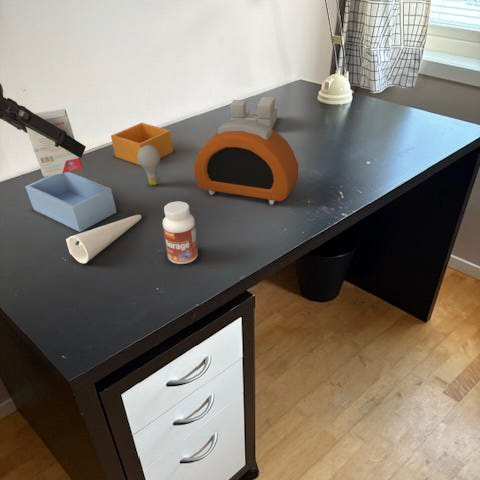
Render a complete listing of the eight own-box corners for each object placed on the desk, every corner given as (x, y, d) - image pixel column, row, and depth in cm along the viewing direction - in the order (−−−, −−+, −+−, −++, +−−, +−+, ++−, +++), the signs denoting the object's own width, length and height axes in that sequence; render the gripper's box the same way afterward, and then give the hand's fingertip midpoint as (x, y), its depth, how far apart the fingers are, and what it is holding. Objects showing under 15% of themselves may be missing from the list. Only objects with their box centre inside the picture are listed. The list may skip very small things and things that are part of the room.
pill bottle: (163, 264, 94) (155, 214, 87) (172, 246, 99) (165, 198, 92) (194, 266, 94) (188, 216, 86) (201, 248, 98) (196, 200, 91)
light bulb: (143, 181, 122) (136, 142, 116) (164, 179, 123) (158, 140, 116) (142, 190, 118) (134, 151, 112) (164, 189, 119) (158, 149, 112)
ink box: (81, 161, 108) (66, 107, 100) (83, 170, 104) (68, 115, 96) (41, 168, 106) (23, 113, 98) (42, 177, 102) (23, 121, 94)
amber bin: (115, 156, 134) (110, 135, 130) (145, 143, 141) (141, 122, 137) (143, 166, 129) (139, 144, 125) (173, 151, 135) (170, 130, 131)
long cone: (160, 232, 106) (90, 267, 94) (140, 227, 110) (71, 259, 97) (156, 208, 103) (84, 240, 91) (136, 203, 107) (63, 233, 94)
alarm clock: (195, 193, 116) (187, 124, 105) (210, 178, 122) (204, 110, 111) (287, 208, 109) (289, 135, 98) (298, 190, 115) (301, 120, 104)
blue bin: (33, 209, 113) (25, 186, 109) (70, 192, 119) (63, 169, 115) (80, 232, 105) (72, 207, 101) (116, 212, 111) (111, 188, 107)
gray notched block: (277, 119, 152) (277, 92, 146) (270, 133, 143) (270, 105, 138) (240, 117, 154) (239, 91, 149) (231, 131, 145) (230, 103, 140)
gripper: (-66, 98, 90) (35, 152, 110) (-5, 119, 80) (93, 175, 100) (-51, 61, 89) (47, 122, 109) (12, 77, 79) (107, 141, 99)
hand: (69, 147), depth 104 cm, fingers closed on ink box, 8 cm apart
